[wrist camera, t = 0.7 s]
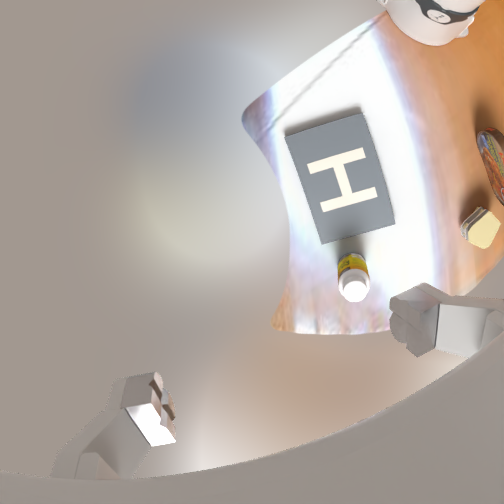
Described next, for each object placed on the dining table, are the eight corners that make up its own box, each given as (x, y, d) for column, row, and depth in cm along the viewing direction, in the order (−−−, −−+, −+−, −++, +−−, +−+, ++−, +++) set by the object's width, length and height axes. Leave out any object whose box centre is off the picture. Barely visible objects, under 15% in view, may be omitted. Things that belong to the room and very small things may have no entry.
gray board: (285, 137, 49) (284, 137, 48) (361, 113, 45) (362, 112, 43) (321, 241, 55) (321, 244, 53) (393, 221, 50) (395, 224, 48)
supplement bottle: (346, 247, 54) (349, 269, 45) (371, 260, 53) (378, 285, 44) (332, 271, 56) (331, 297, 47) (356, 283, 56) (360, 311, 47)
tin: (471, 131, 40) (492, 131, 32) (482, 125, 38) (504, 125, 31) (496, 204, 43) (517, 215, 35) (506, 198, 41) (528, 208, 34)
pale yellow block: (471, 188, 44) (484, 194, 39) (497, 216, 43) (511, 224, 39) (443, 229, 48) (454, 239, 43) (471, 255, 48) (482, 266, 43)
